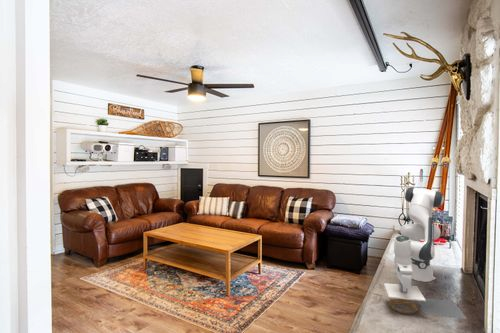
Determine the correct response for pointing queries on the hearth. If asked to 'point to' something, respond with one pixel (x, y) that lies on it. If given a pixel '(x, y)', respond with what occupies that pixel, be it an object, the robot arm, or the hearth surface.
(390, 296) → the cover sheet
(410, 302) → the plant saucer
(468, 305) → the hearth surface
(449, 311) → the charcoal mat
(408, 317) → the hearth surface
